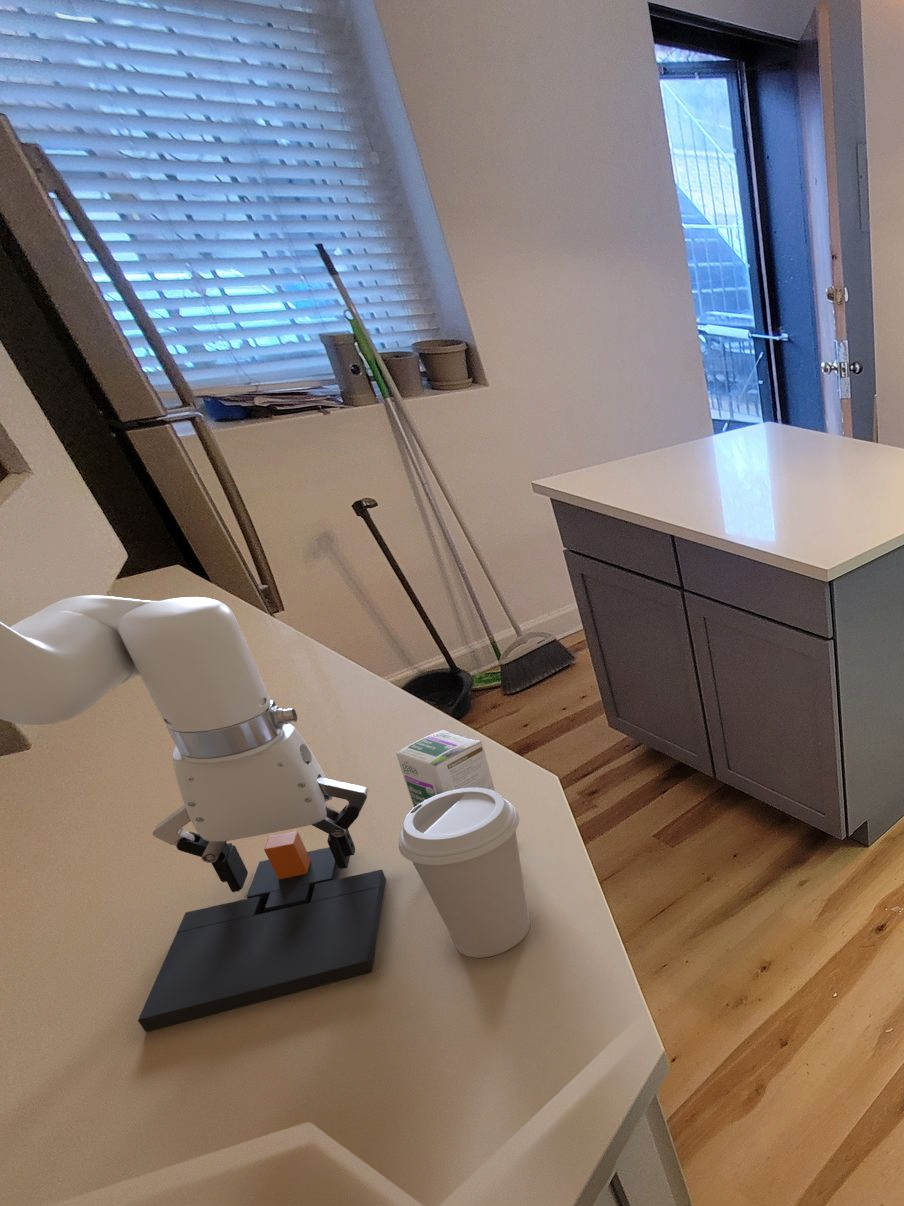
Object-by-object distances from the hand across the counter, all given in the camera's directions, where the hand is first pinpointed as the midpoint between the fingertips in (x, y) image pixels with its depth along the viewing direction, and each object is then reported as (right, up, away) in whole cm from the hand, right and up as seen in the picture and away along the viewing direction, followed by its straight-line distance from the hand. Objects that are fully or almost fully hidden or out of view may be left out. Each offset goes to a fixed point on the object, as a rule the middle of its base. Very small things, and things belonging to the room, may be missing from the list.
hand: (294, 871), depth 82 cm
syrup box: (+15, 0, +6) cm, 16 cm away
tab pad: (+1, -2, 0) cm, 2 cm away
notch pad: (+5, -6, -7) cm, 10 cm away
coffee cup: (+23, -6, -4) cm, 24 cm away
